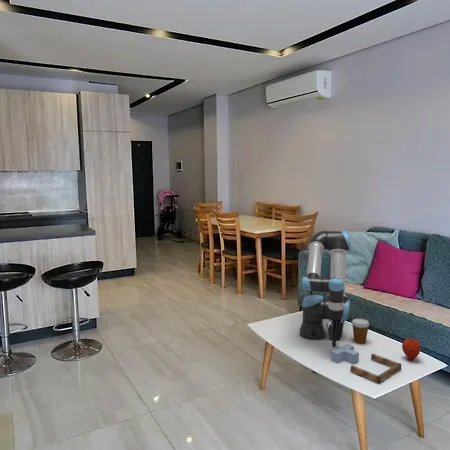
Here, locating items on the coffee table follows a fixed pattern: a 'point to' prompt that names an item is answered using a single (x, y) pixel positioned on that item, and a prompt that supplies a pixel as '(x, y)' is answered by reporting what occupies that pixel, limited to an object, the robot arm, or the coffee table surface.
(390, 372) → the walnut fence
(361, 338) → the disposable coffee cup
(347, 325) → the coffee table surface
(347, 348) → the t block
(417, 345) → the apple
